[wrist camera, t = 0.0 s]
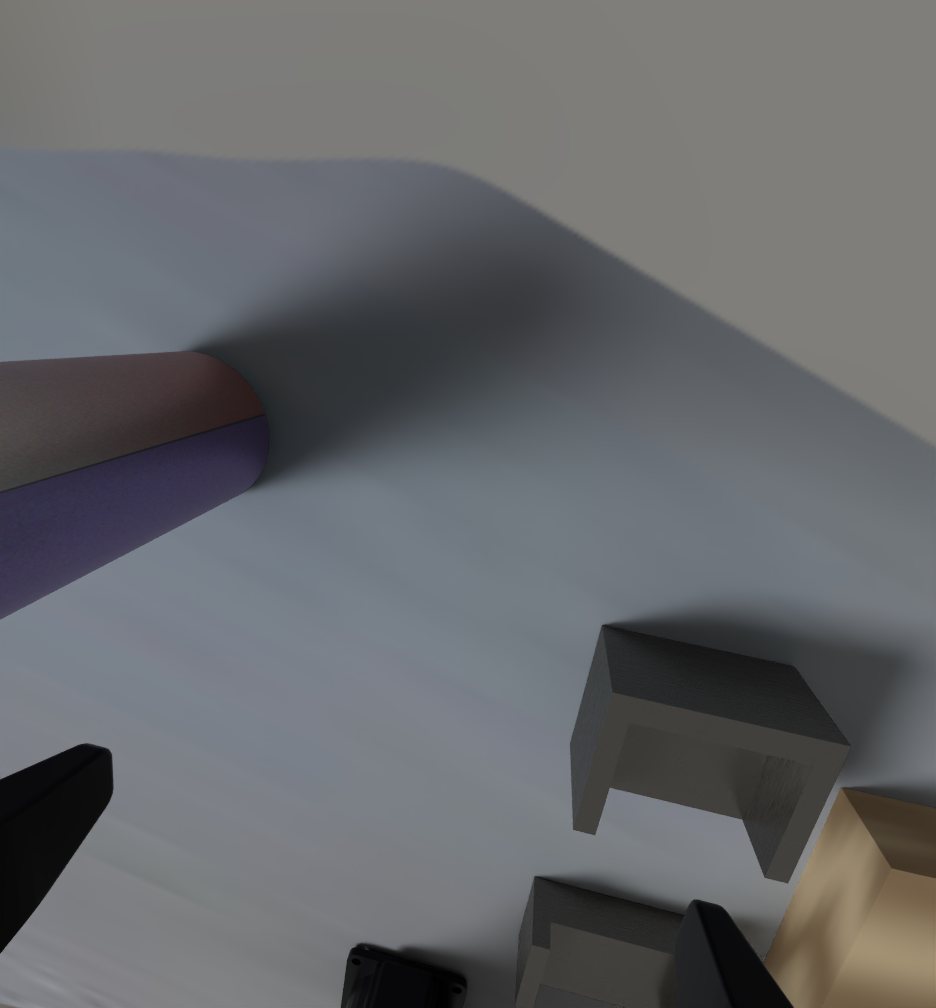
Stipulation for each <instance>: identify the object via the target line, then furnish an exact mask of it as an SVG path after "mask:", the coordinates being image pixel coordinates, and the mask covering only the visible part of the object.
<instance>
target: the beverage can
mask: <svg viewBox="0 0 936 1008" xmlns="http://www.w3.org/2000/svg"><path fill="white" fill-rule="evenodd" d="M268 447H269V431H268V424H267V419H266V415H265V412H264V409H263V407H262V405H261V403H260V401H259V399H258V397H257V395H256V394H255V392H254V391H253V389H252V388H251V387H250V385H249V384H248V383H247V382H246V380H245V379H244V378H243V377H242V376H241V375H240V374H239V373H238V372H236V371H235V370H234V369H233V368H231V367H230V366H229V365H227V364H226V363H224V362H222V361H220V360H218V359H216V358H214V357H212V356H209V355H206V354H202V353H197V352H189V351H182V352H164V353H147V354H129V355H112V356H94V357H77V358H60V359H42V360H25V361H7V362H0V619H2V618H4V617H6V616H8V615H10V614H12V613H14V612H16V611H17V610H19V609H21V608H23V607H25V606H27V605H29V604H31V603H33V602H35V601H37V600H39V599H41V598H42V597H44V596H46V595H48V594H50V593H52V592H54V591H56V590H58V589H60V588H62V587H64V586H65V585H67V584H69V583H71V582H73V581H75V580H77V579H79V578H81V577H83V576H85V575H87V574H88V573H90V572H92V571H94V570H96V569H98V568H100V567H102V566H104V565H106V564H108V563H110V562H111V561H113V560H115V559H117V558H119V557H121V556H123V555H125V554H127V553H129V552H131V551H133V550H135V549H136V548H138V547H140V546H142V545H144V544H146V543H148V542H150V541H152V540H154V539H156V538H158V537H159V536H161V535H163V534H165V533H167V532H169V531H171V530H173V529H175V528H177V527H179V526H181V525H182V524H184V523H186V522H188V521H190V520H192V519H194V518H196V517H198V516H200V515H202V514H204V513H206V512H207V511H209V510H211V509H213V508H215V507H217V506H219V505H221V504H223V503H225V502H227V501H229V500H230V499H232V498H234V497H236V496H238V495H240V494H241V493H243V492H245V491H246V490H247V489H248V488H249V487H250V486H251V485H252V484H253V483H254V482H255V481H256V480H257V478H258V477H259V475H260V473H261V472H262V469H263V467H264V465H265V462H266V459H267V454H268Z"/></svg>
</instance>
